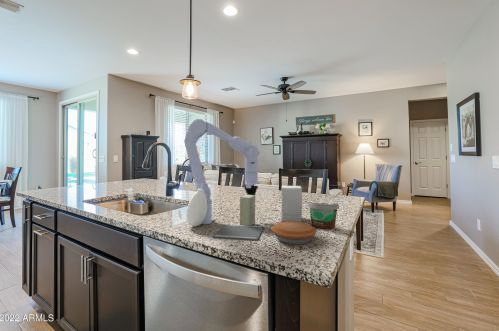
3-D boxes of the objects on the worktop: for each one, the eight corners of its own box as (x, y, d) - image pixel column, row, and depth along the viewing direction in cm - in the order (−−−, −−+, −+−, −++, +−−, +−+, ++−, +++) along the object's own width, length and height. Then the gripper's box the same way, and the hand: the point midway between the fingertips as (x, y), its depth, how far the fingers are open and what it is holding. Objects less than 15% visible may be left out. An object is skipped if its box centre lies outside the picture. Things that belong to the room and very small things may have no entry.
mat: (212, 237, 85) (212, 236, 85) (224, 225, 99) (224, 224, 99) (257, 240, 82) (257, 238, 82) (263, 227, 96) (263, 226, 96)
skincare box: (246, 222, 105) (246, 194, 104) (255, 223, 103) (255, 195, 102) (239, 225, 99) (239, 196, 99) (249, 227, 97) (249, 197, 97)
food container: (304, 227, 97) (304, 202, 96) (308, 223, 102) (308, 200, 102) (336, 232, 91) (336, 205, 91) (338, 227, 96) (339, 203, 96)
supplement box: (302, 222, 104) (302, 188, 104) (281, 221, 106) (281, 187, 105) (300, 217, 113) (301, 185, 113) (281, 216, 115) (281, 185, 114)
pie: (285, 229, 95) (285, 216, 95) (323, 237, 85) (324, 223, 85) (262, 239, 83) (262, 225, 83) (303, 251, 73) (304, 234, 73)
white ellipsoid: (199, 231, 94) (207, 186, 92) (180, 226, 95) (189, 181, 93) (206, 225, 101) (214, 183, 99) (189, 220, 102) (197, 179, 101)
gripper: (257, 173, 101) (257, 205, 101) (262, 171, 115) (262, 199, 116) (241, 173, 102) (241, 204, 103) (247, 171, 116) (247, 199, 117)
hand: (251, 202), depth 109 cm, fingers closed
